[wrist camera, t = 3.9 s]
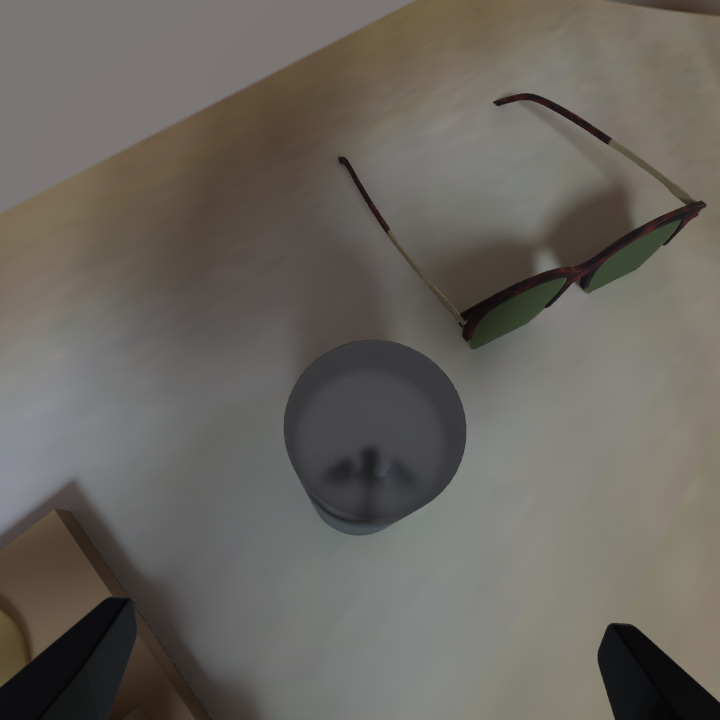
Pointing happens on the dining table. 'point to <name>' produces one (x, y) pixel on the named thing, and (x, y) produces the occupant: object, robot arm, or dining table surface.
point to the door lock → (79, 617)
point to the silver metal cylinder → (373, 434)
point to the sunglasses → (548, 286)
